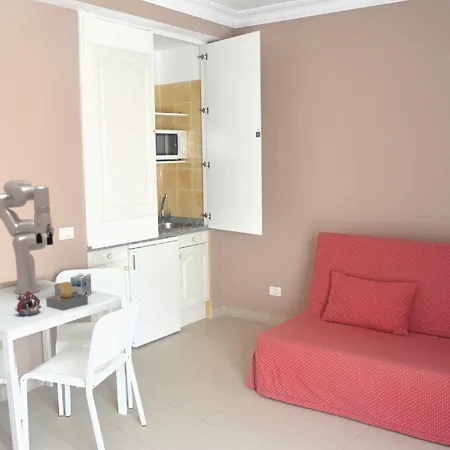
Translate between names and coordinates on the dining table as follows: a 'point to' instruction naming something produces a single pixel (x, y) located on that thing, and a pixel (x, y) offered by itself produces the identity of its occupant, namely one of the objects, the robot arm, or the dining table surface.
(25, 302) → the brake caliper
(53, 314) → the dining table surface
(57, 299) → the bore block
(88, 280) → the light bulb box
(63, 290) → the square bit
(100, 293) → the dining table surface
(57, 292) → the round bit
